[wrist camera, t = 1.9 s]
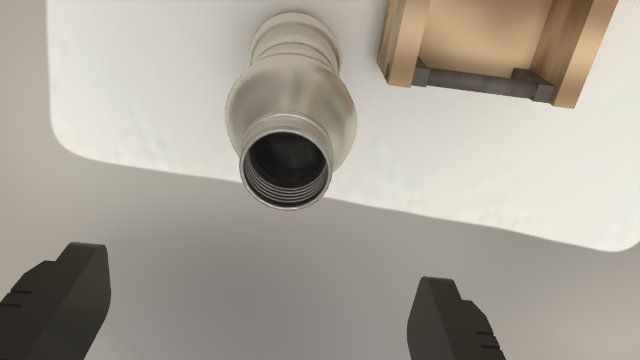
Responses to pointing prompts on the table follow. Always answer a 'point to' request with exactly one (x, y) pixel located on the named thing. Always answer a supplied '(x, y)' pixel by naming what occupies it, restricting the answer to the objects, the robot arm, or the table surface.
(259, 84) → the metal bottle
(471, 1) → the caddy
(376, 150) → the table surface
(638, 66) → the table surface
